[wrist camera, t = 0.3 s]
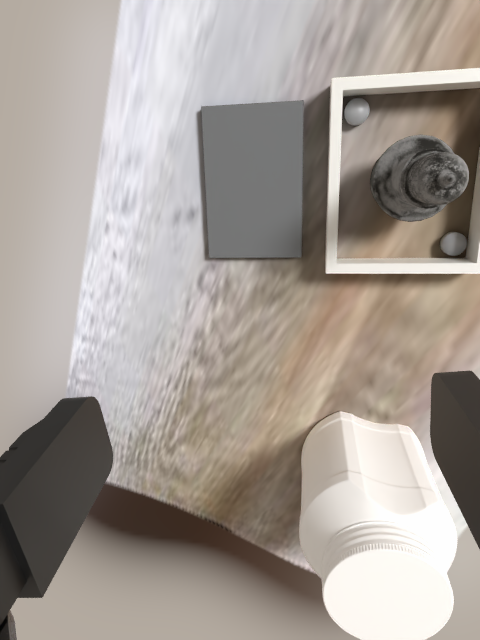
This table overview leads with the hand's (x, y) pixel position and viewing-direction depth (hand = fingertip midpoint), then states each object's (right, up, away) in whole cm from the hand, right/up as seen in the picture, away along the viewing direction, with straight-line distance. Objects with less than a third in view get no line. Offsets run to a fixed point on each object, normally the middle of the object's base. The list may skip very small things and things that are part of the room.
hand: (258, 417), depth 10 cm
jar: (+11, -11, +32) cm, 36 cm away
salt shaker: (+13, +14, +24) cm, 30 cm away
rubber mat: (+1, +14, +25) cm, 29 cm away
